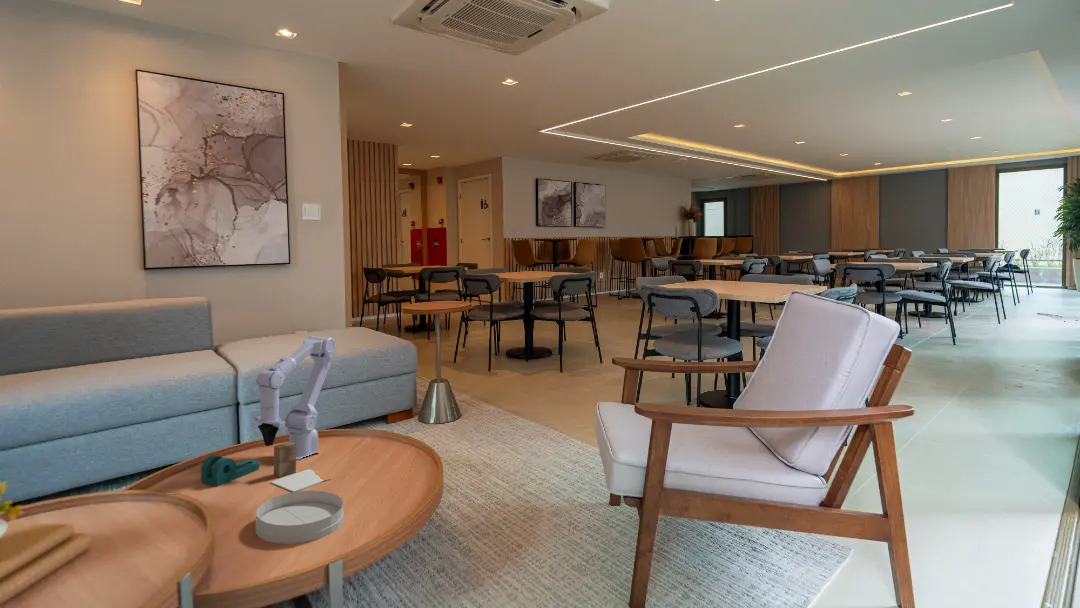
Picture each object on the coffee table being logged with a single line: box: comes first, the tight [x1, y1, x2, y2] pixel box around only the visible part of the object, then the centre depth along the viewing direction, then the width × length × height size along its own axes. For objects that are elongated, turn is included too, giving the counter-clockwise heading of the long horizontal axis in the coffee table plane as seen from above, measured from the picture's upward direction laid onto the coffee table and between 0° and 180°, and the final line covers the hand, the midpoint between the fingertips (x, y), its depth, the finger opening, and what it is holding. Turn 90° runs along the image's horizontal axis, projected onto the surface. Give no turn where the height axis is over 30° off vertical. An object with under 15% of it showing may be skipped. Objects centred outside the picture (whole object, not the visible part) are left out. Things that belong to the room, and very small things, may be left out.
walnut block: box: [273, 441, 297, 479], centre depth 186 cm, size 6×3×10 cm, turn 148°
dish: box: [255, 490, 345, 545], centre depth 153 cm, size 22×22×5 cm
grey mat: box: [270, 468, 324, 493], centre depth 181 cm, size 14×12×1 cm
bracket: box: [200, 454, 260, 487], centre depth 183 cm, size 18×7×8 cm, turn 161°
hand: (269, 445), depth 190 cm, fingers closed
